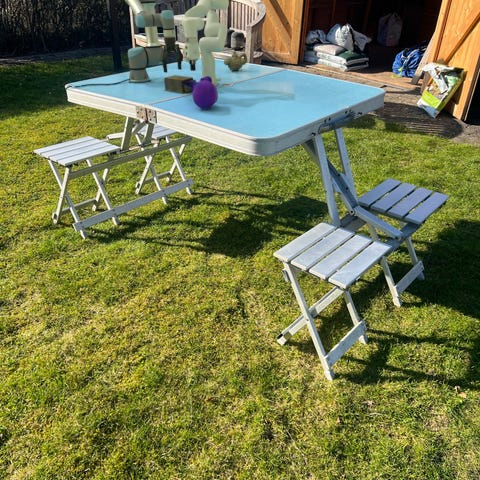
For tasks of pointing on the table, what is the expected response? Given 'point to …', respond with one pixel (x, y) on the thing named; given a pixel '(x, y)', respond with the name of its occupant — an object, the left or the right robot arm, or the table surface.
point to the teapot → (235, 61)
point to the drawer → (187, 88)
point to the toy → (203, 92)
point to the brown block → (175, 83)
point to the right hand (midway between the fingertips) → (193, 70)
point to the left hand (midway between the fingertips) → (172, 70)
